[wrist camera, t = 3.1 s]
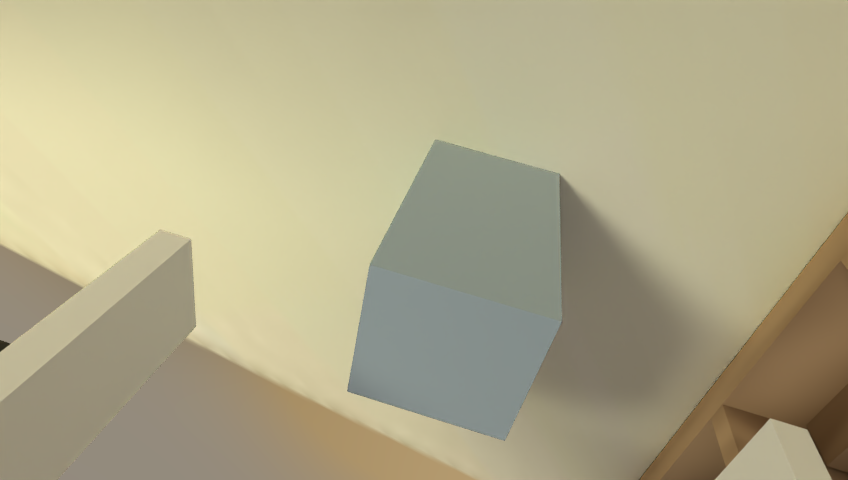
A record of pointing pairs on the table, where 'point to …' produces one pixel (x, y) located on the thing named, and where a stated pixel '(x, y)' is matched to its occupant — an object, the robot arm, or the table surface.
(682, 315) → the table surface
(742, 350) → the wooden block holder
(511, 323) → the blue gray block
